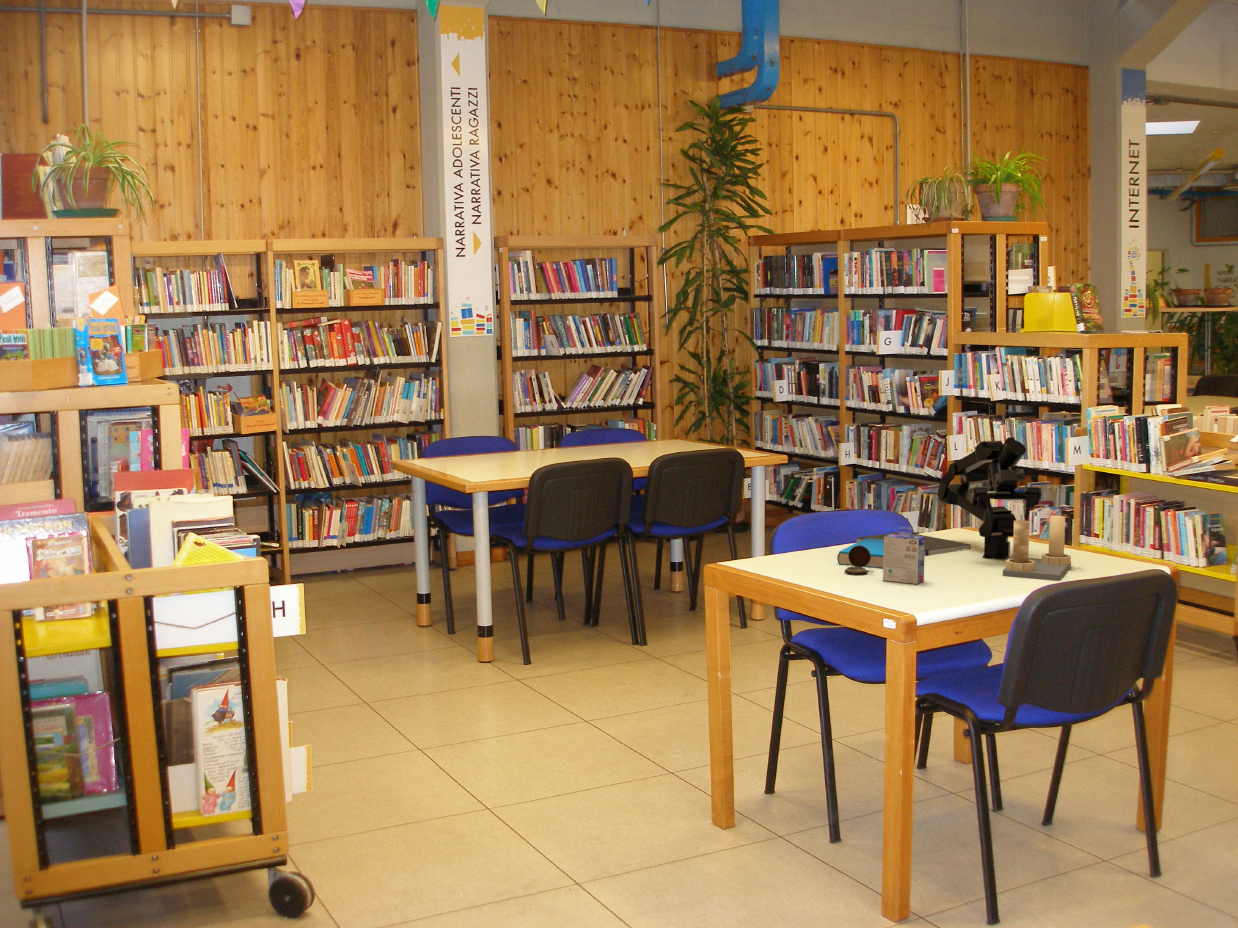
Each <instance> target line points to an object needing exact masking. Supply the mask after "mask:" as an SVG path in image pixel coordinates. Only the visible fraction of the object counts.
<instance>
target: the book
mask: <svg viewBox="0 0 1238 928" xmlns="http://www.w3.org/2000/svg"><path fill="white" fill-rule="evenodd" d="M859 545H861V546H864V547H866V548H867V549H868V550H869V552H870V555H871V559H870V562H869V563H868V564H867V565H866V566H864V567H863V568H872V569H873V568H874V569H883V558H884V540H881V539H869V538H866V539H864V540H862V541H860V542H857V541H856V542H855V543H853V544H852V545H849V546H848V547H845V548H843V549H841V550H839V551H838V554H837V557H836V559H837V563H838V565H842V566H849V565H851V566H850V567H854V566H853V565H852V564H851V563H850V561H849V558H848V556H849V551H850V550H851V549H852V548H853V547H855V546H859Z"/></svg>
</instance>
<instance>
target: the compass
mask: <svg viewBox="0 0 1238 928" xmlns="http://www.w3.org/2000/svg"><path fill="white" fill-rule="evenodd" d="M848 558H849V561H850V563H851V564H852V565H853V566H849V567H847V568H845V569H844V574H847V575H849V576H850V575H851V576H864V575H866V574H868V573H870V570H869V569H868V570H867V569H866V567H864V566H866V565H867V564H868V563H869V562H870V559H871V555H870V552H869V550H868V549H867V548H866V547H864V546H861V545H859V546H855V547H853V548H852V549H851V550H850V551H849V556H848ZM872 573H874V570H872Z"/></svg>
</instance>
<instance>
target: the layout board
mask: <svg viewBox="0 0 1238 928" xmlns="http://www.w3.org/2000/svg"><path fill="white" fill-rule="evenodd" d="M1065 528H1066V516H1063V515H1050V516H1049V529H1048V530H1049V531H1048V532H1049V533H1048V552H1047V553H1046V552H1045V553H1044V552H1043V553H1042V554H1041V555H1040V556H1041V558H1033V557H1028V563H1014V562H1013V558H1008V559H1007V558H1006V559H1005V568H1003V569H1002V576H1003V577H1014V578H1023V579H1025V578H1027V579H1035V580H1046V581H1047V580H1049V581H1056V582H1057V581H1058V582H1059V581H1060V580H1062V578H1063V576H1064V575H1065V574H1067V572H1068V571H1069V570H1070V568H1071V567H1072V561H1071V560H1072V556H1071V555H1069V554H1066V553H1065V533H1066V532H1065Z"/></svg>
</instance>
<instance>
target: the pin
mask: <svg viewBox="0 0 1238 928" xmlns="http://www.w3.org/2000/svg"><path fill="white" fill-rule="evenodd" d="M1012 538H1013V542H1012V559H1013V562H1014V563H1028V558H1029V547H1030V546H1029V544H1030V543H1029V542H1030V521H1029V520H1027V521H1026V520H1025V519H1024V520H1023V519H1021V520H1019V519H1016V521H1014V536H1013V537H1012Z"/></svg>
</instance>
